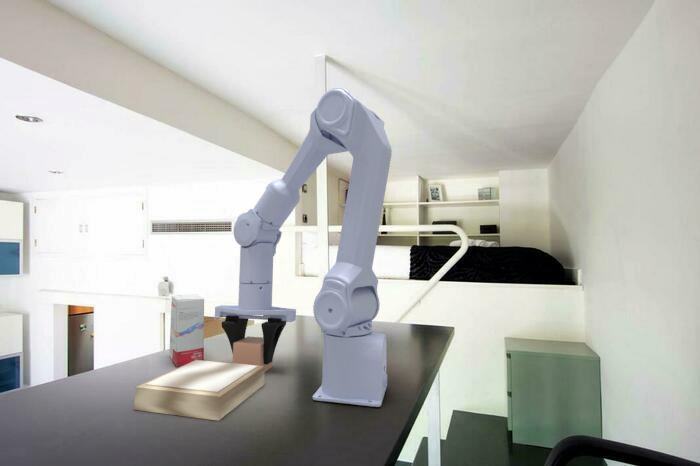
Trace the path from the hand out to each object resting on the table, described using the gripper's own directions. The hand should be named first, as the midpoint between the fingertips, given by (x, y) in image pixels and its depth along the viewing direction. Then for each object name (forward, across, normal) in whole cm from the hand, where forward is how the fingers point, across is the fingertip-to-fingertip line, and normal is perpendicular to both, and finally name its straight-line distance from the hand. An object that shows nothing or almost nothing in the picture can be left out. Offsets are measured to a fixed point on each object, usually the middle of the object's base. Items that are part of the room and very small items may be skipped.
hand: (253, 361), depth 60 cm
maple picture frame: (+1, +1, +12) cm, 12 cm away
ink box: (+2, +15, -2) cm, 15 cm away
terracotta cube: (+1, 0, 0) cm, 1 cm away
